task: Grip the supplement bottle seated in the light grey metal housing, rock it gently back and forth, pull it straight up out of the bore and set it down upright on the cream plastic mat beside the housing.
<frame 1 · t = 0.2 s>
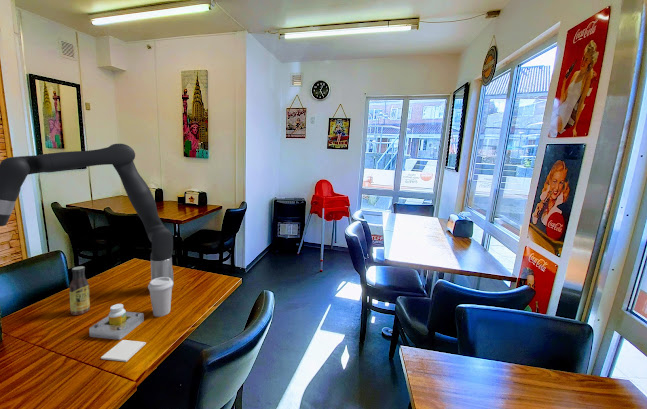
coffee cup: (161, 312, 117), on the table
supplement bottle: (118, 328, 105), resting in housing
housing: (118, 328, 105), on the table
mat: (124, 350, 93), on the table
sauce bottle: (81, 312, 114), on the table
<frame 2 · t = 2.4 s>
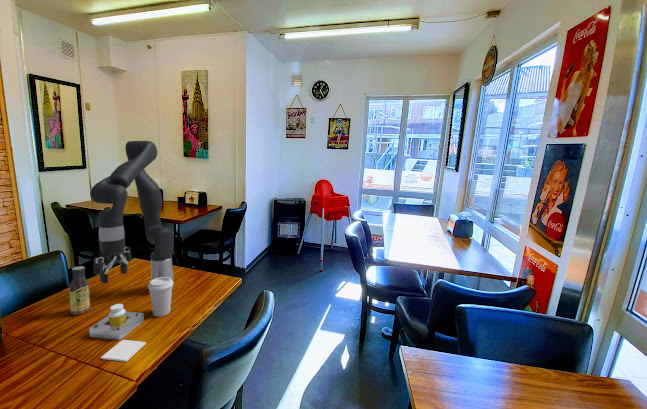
hand: (114, 278, 101), 21 cm above the table, tool pointing down, fingers open, 8 cm apart
nothing on the table moved.
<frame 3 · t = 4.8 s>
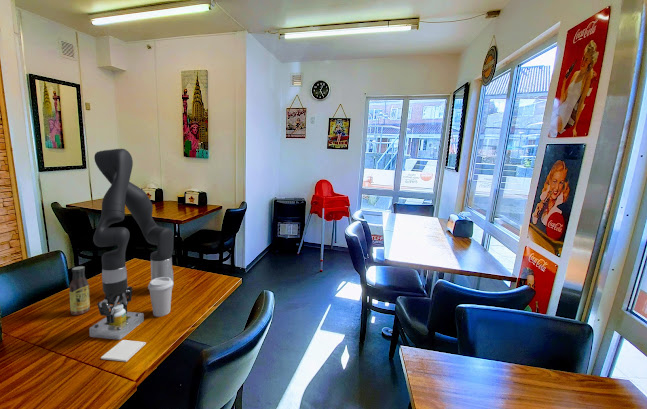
hand: (117, 318, 104), 4 cm above the table, tool pointing down, fingers closed on supplement bottle, 5 cm apart
supplement bottle: (118, 328, 105), resting in housing, touching gripper
everything else where it was.
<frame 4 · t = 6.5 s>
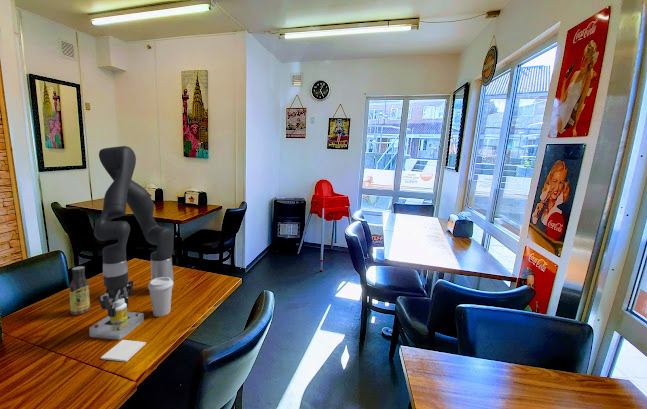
hand: (118, 312, 104), 7 cm above the table, tool pointing down, fingers closed on supplement bottle, 5 cm apart
supplement bottle: (119, 323, 105), point 2 cm above the table, touching gripper
everything else where it was.
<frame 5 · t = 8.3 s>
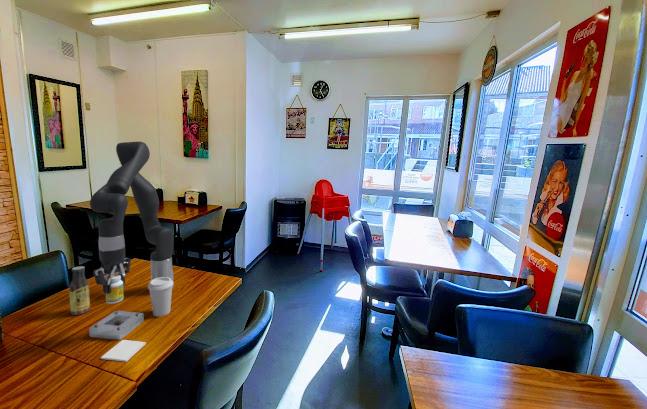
hand: (114, 289, 100), 18 cm above the table, tool pointing down, fingers closed on supplement bottle, 5 cm apart
supplement bottle: (114, 301, 101), point 13 cm above the table, touching gripper
everything else where it was.
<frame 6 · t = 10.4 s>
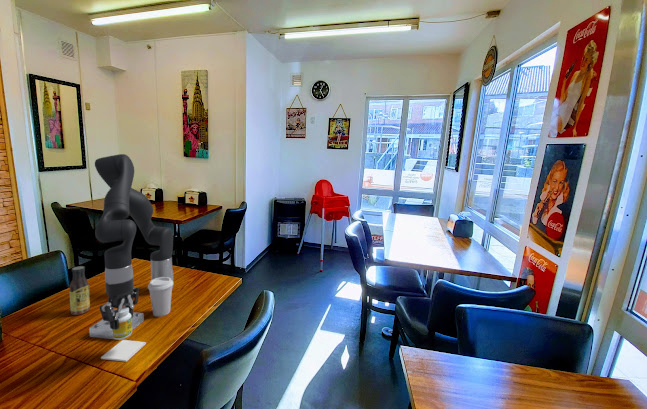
hand: (122, 323, 92), 11 cm above the table, tool pointing down, fingers closed on supplement bottle, 5 cm apart
supplement bottle: (122, 335, 92), point 6 cm above the table, touching gripper
everything else where it was.
when the fingers open (6 cm above the table, at t = 12.1 s): supplement bottle drops 1 cm, resting on mat.
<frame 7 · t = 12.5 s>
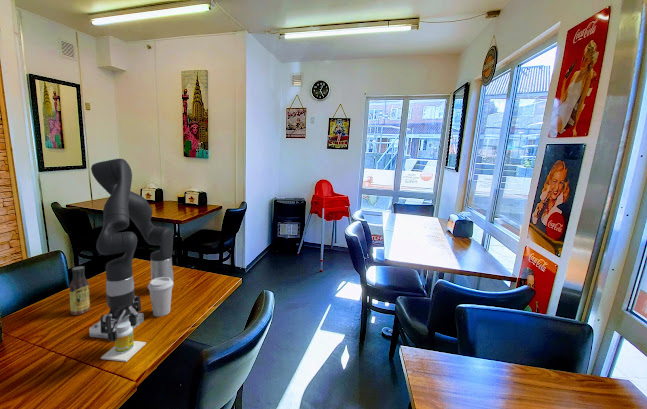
hand: (123, 332, 92), 7 cm above the table, tool pointing down, fingers open, 8 cm apart
supplement bottle: (124, 349, 93), resting on mat
everything else where it was.
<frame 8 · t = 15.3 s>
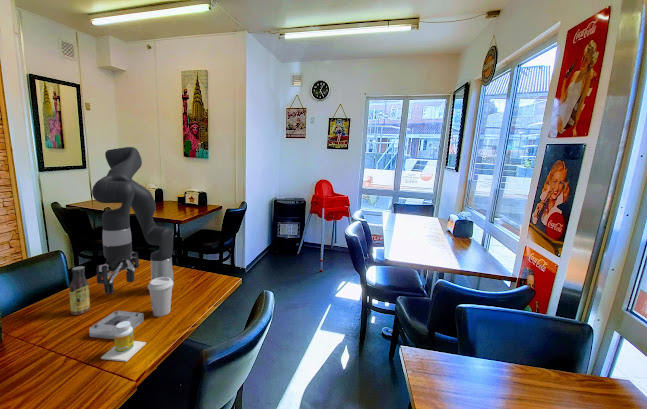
hand: (120, 287, 89), 24 cm above the table, tool pointing down, fingers open, 8 cm apart
nothing on the table moved.
at the end: supplement bottle inside the target area on the mat (0.3 cm from its centre), point 0.4 cm above the mat's base; supplement bottle tilted 0°; the gripper is holding nothing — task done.
